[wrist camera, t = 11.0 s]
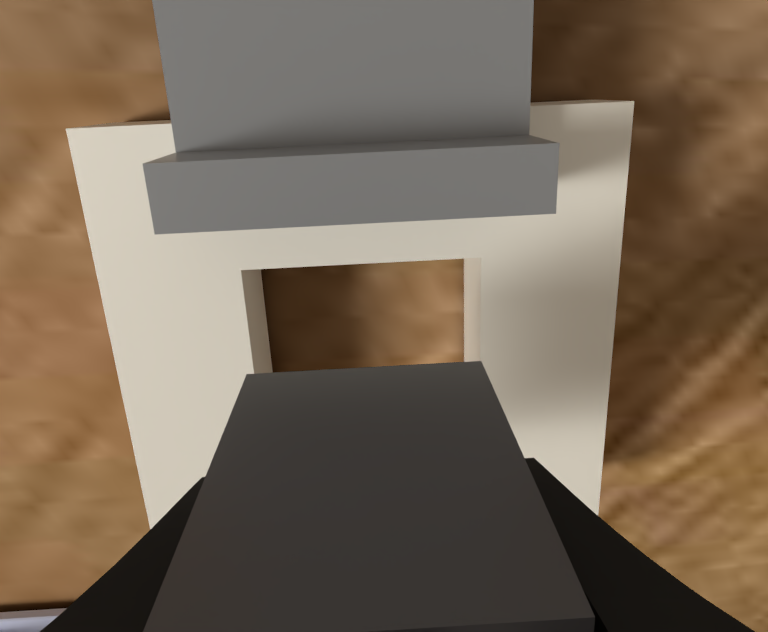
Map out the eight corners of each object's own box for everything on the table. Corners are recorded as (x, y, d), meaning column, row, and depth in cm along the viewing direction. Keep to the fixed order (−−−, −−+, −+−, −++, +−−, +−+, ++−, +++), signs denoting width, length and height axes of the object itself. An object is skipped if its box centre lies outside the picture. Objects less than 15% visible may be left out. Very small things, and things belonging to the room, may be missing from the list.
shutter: (515, 188, 14) (556, 213, 11) (197, 204, 14) (154, 234, 11) (525, -167, 12) (579, -251, 9) (145, -151, 11) (74, -231, 9)
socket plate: (568, 473, 19) (597, 526, 17) (180, 496, 19) (155, 553, 17) (593, 99, 16) (634, 101, 13) (110, 122, 15) (65, 128, 13)
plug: (479, 550, 12) (611, 1059, 6) (271, 562, 12) (172, 1091, 6) (481, 361, 11) (657, 754, 4) (246, 374, 11) (77, 792, 4)
